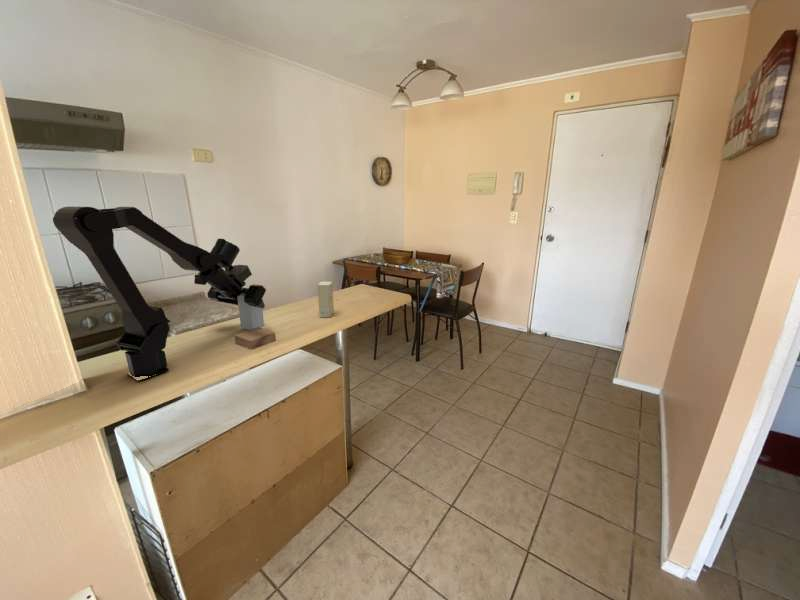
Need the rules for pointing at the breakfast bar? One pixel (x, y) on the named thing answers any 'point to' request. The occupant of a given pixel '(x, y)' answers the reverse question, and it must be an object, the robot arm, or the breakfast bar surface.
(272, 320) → the breakfast bar surface
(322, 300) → the skincare box
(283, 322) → the breakfast bar surface
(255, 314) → the pillar
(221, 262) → the robot arm
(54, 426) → the breakfast bar surface
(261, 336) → the walnut block
